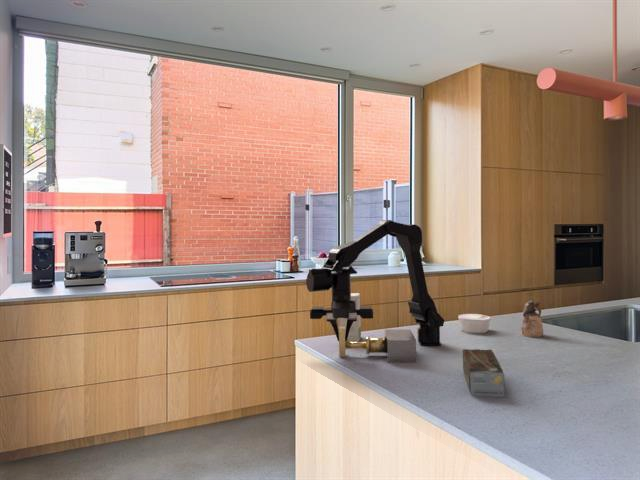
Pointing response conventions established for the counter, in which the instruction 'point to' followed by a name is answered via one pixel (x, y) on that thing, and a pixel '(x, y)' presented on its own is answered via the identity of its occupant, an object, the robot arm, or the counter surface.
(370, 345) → the brass door handle
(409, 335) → the housing
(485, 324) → the ramekin
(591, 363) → the counter surface
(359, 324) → the skincare box
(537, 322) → the figurine
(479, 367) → the beverage carton
